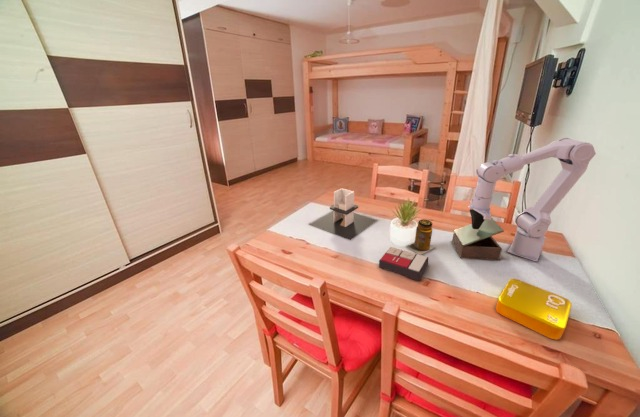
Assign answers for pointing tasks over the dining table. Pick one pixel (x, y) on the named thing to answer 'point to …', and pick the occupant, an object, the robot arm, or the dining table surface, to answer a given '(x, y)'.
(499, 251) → the brown box
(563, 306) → the element tile
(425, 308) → the dining table surface
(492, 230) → the sage green tile
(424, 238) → the condiment
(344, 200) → the candle holder
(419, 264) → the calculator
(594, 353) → the dining table surface
